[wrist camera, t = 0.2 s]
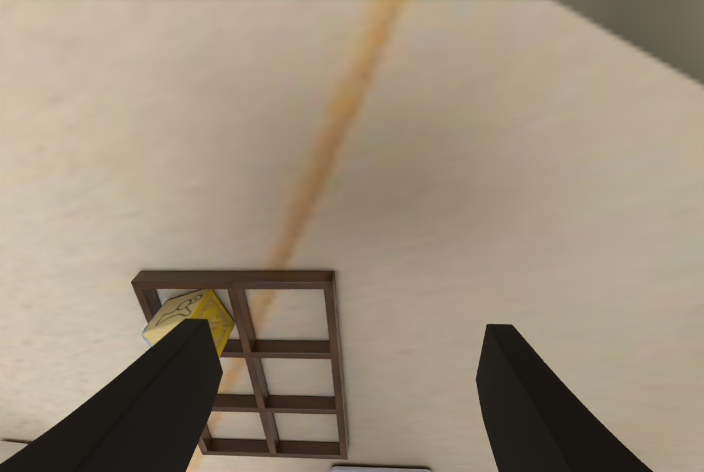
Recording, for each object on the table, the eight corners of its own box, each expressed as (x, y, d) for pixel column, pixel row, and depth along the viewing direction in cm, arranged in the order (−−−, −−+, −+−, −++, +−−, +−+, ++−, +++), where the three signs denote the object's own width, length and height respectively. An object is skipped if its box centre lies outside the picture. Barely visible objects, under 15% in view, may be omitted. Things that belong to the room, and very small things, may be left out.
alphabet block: (165, 298, 23) (137, 335, 20) (209, 284, 22) (187, 321, 19) (194, 334, 24) (171, 373, 22) (236, 322, 23) (219, 362, 21)
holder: (348, 446, 29) (347, 460, 28) (207, 442, 30) (202, 455, 29) (334, 270, 21) (332, 281, 20) (139, 271, 22) (130, 282, 21)
